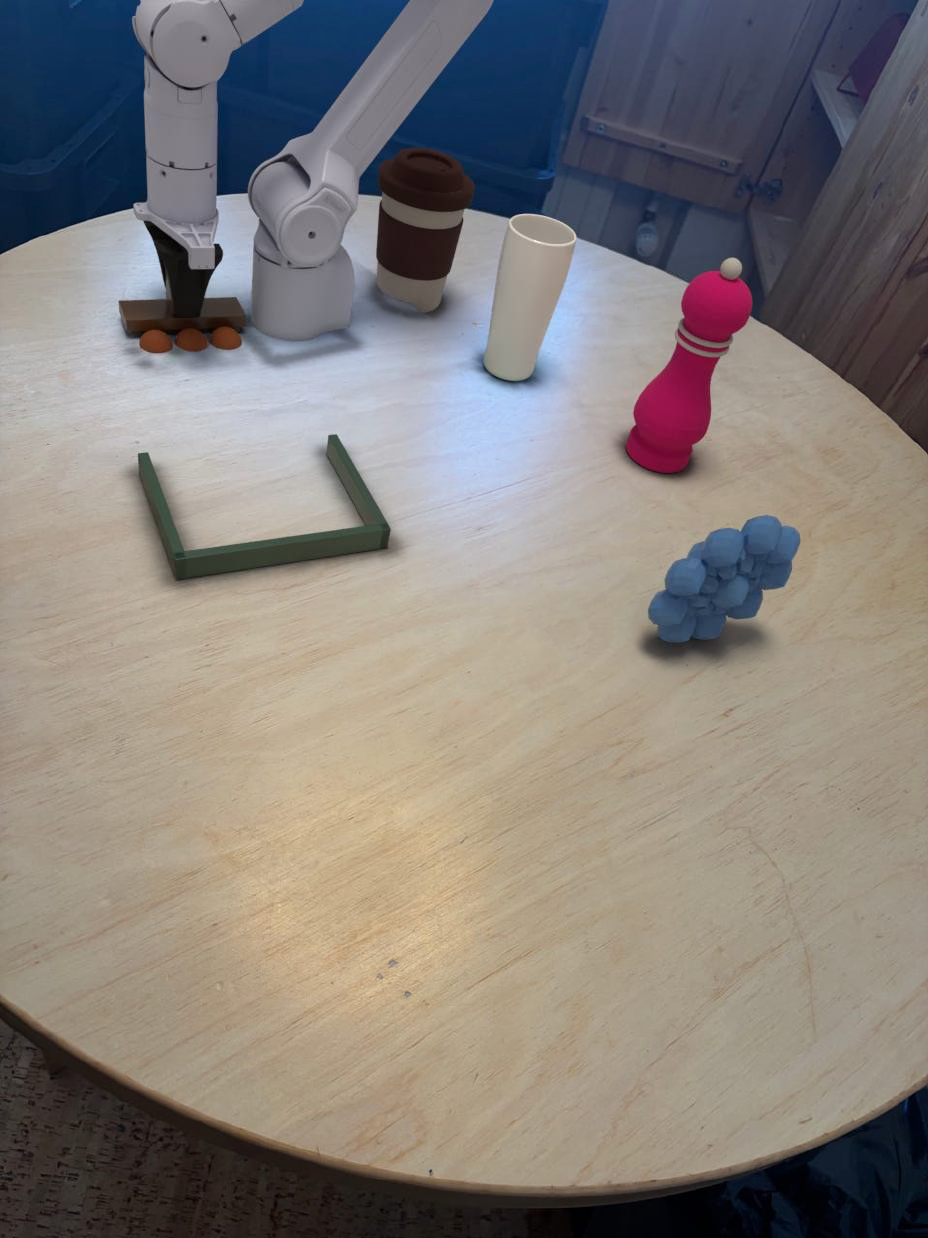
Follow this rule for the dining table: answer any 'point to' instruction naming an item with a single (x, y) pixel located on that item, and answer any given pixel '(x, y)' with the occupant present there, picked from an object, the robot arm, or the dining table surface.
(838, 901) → the dining table surface
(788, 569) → the grapes
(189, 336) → the ball middle
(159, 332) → the ball
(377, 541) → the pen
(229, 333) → the ball
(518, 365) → the drinking glass
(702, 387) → the pepper mill
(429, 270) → the coffee cup
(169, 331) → the brush
